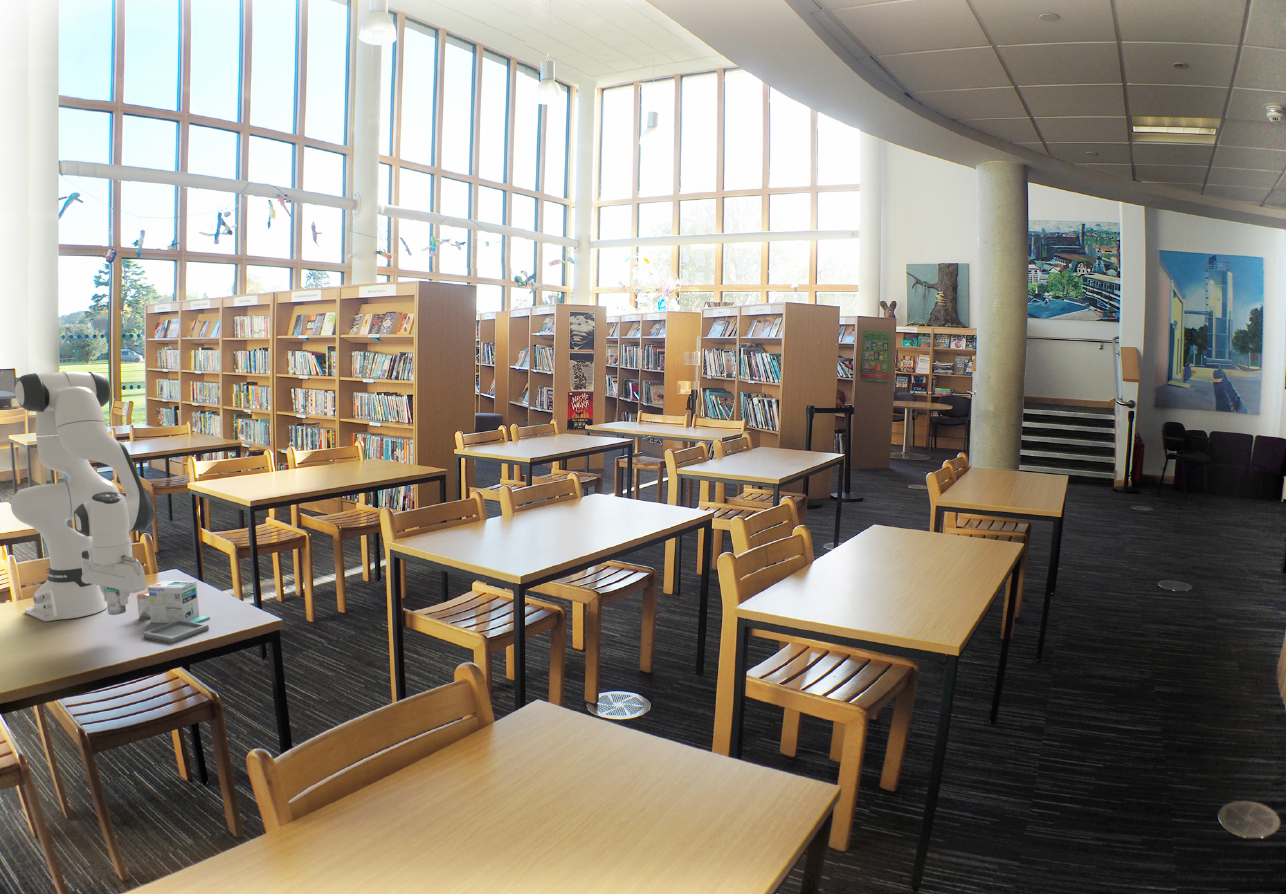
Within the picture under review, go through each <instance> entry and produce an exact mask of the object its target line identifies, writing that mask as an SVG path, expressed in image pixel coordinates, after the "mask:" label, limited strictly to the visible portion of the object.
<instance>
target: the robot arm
mask: <svg viewBox="0 0 1286 894" xmlns="http://www.w3.org/2000/svg"><path fill="white" fill-rule="evenodd" d="M14 394H15V395H14V396H15V398H16V400H17V403H18V405H19V406H20V408H22V409H24V410H26V411H30V412H35V437H36V445H37V447H36V448H37V455H38V461H39V463H40V465H41V466H43V467H45V468H46V469H49V470H52V471H54V472H58V473H60V474H61V473H62V474H64V475H65V476H66V477H67V481H65V482H58V483H46V484H38V485H34V486H29V487H25V488H23V489H19V490H17V491H16V493H15V494H14V495H13V497H12V499H11V504H10V509H11V512H12V515H14V516H13V517H15V518H16V519H17V520H18V521H20V522H21V523H24V524H25V525H28V526H30V527H31V528H32V529H34V530H36V531H37V533H39V534H40V535H41V537H42V538H43V540H44V542H45V544H46V547H47V552H48V553H47V554H48V557H49V565H50V567H49V568H46V569H45V573H47V578H46V581H45V582H44V583H43V584H42V585H41V586H39V588H38V589H37V590H36V591H35V592H34V594H33V598H32V599H33V604H34V605H31V606H29V607H26V608H25V610H24V613H25V614H26V615H30V616H31V617H34V618H36V619H38V620H40V621H43V622H52V621H56V620H57V621H58V620H68V619H75V618H82V617H87V616H90V615H93V614H97V613H99V612H102V611H104V610H106V609H108V605H107V593H106V588H107V587H108V588H112V589H117V590H119V593H120V594H121V596H120V598H118V604H119V605H128V604H129V596H130V595H131V594H135V593H136V594H137V593H139V592H142V591H144V590H145V589H146V588H147V582H146V575H145V569H144V567H143V565H142V564H141V562H139V560H138V559H137V557H135V556H134V557H133V547H132V538H131V535H130V532H141V531H145V530H146V529H147V528H149V527H150V526H151V524H152V523H153V522H154V521H155V518H156V511H155V508H154V505H153V503H152V501H151V499H150V497H149V496H148V494H147V492H146V490H145V488H144V485H143V482H142V481H141V478H140V476H139V473H138V471H137V468H136V465H135V464H134V462H133V460H132V457H131V455H130V453H129V450H128V449H127V447H126V446H125V444H124V443H123V442H122V441H120V440H117V439H115V437H114V436H113V435H112V434H111V433H110V432H109V430H108V427H107V425H106V419H105V416H104V413H103V410H102V407H104V406H105V405H107V403H109V401H110V400H111V399H110V398H111V386H110V382H109V380H108V378H107V377H106V376H105V375H104V374H102V373H100V372H93V371H87V372H83V371H60V372H58V371H56V372H44V373H28V374H24V375H21V376H20V377H19V378H18V379H17V380H16V384H15V387H14ZM90 461H93V462H98V463H101V464H104V465H107V466H109V467H111V468H112V469H114V471H115V473H116V475H117V476H118V479H119V482H120V485H121V486H122V489H123V491H124V493H125V495H123V494H122V493H120V490H119V488H118V487H117V486H116V484H115V483H113V482H112V481H111V480H109V479H107V478H106V477H104V476H102V475H101V474H100V473H98V472H97V471H96V470H95V468H94V467H93V466H92V465H91V463H90ZM71 520H74V528H72V527H69V525H68V523H67V522H68V521H71Z"/></svg>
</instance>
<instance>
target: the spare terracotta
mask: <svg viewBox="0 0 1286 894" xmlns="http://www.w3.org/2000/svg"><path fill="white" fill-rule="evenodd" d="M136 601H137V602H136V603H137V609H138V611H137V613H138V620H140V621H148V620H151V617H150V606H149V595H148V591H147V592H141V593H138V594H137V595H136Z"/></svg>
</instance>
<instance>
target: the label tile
mask: <svg viewBox="0 0 1286 894" xmlns="http://www.w3.org/2000/svg"><path fill="white" fill-rule="evenodd" d="M210 619H211V617H210V616H208V615H199V616H198V617H196V618H194V619H191V620H188V621H191V622H197V623H202V622H205V621H208V620H210Z"/></svg>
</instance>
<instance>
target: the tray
mask: <svg viewBox="0 0 1286 894" xmlns="http://www.w3.org/2000/svg"><path fill="white" fill-rule="evenodd" d="M208 630H210V628H209V624H208V623H202V622H200V623H197V622H191V621H186V620H178V621H175V622H172V623H165V624H164V625H160V626H157V627H156V628H153V629H150V630H149V629H148V630H147V631H145V632H143V633H142V634H143V639H148V640H152V641H155V642H156V641H158V642H161V643H167V644H171V645H173V644H176V643H178V642H181V641H183V640H186V639H188V638H190V637H193V636H197V635H199V634H201V633H203V632H207V631H208Z"/></svg>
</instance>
